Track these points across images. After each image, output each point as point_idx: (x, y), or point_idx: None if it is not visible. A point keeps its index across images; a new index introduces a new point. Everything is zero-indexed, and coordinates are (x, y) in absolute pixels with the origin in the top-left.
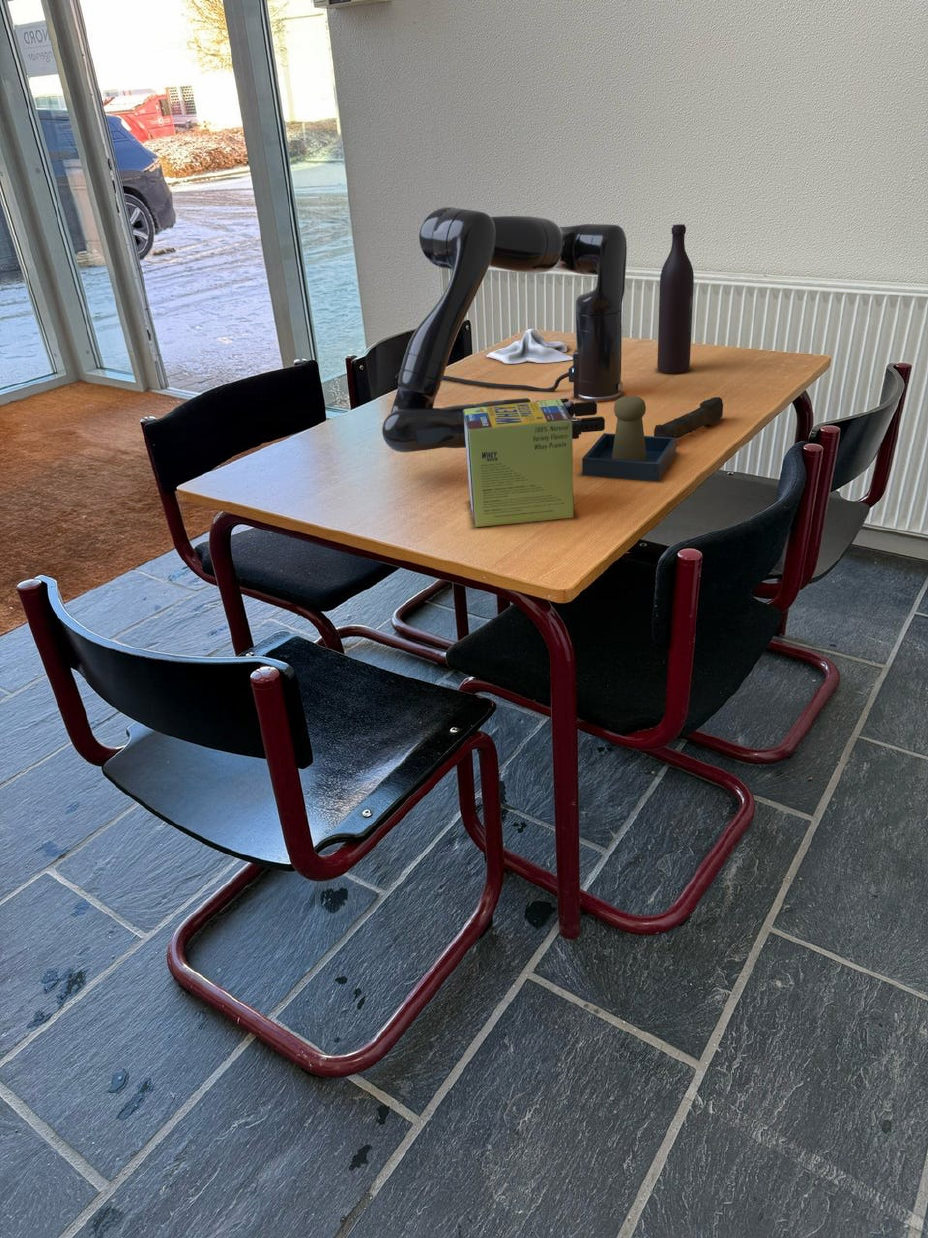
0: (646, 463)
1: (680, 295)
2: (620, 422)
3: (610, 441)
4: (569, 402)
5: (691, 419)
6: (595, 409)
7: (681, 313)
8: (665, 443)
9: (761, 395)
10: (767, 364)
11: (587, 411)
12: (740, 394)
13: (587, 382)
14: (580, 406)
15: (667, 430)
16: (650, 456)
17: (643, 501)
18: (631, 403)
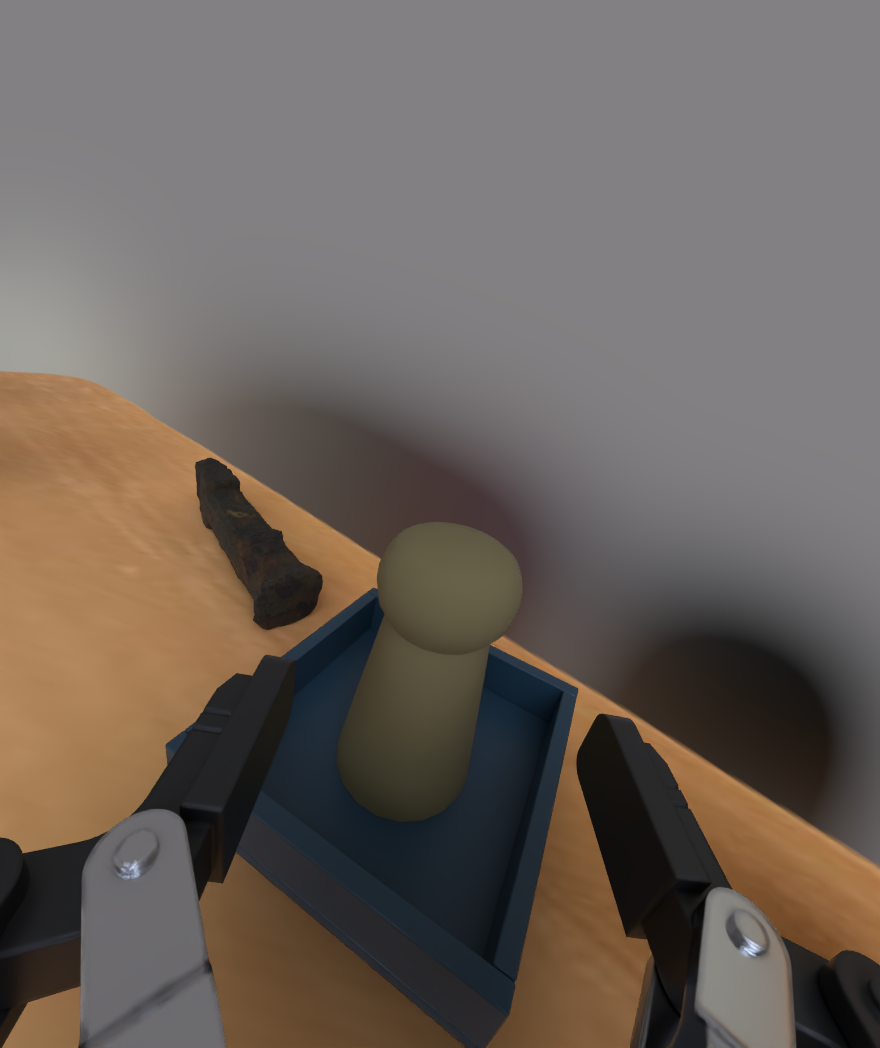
0: (572, 716)
1: None
2: (468, 661)
3: None
4: (147, 867)
5: (269, 526)
6: (290, 696)
7: None
8: (365, 617)
9: (148, 442)
10: (12, 389)
11: (270, 753)
12: (106, 446)
13: None
14: (245, 778)
15: (310, 580)
16: None
17: (727, 824)
18: (515, 561)
